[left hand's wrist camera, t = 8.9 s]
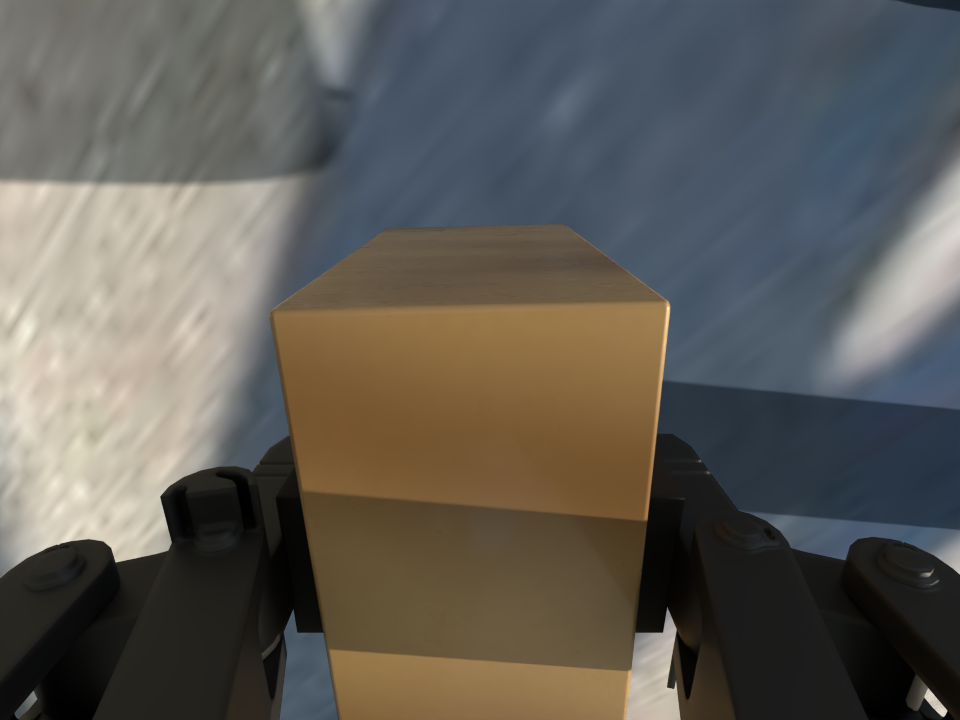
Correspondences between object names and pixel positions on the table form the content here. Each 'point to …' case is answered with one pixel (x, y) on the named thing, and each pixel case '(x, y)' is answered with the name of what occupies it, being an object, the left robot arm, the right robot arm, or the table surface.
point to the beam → (475, 469)
